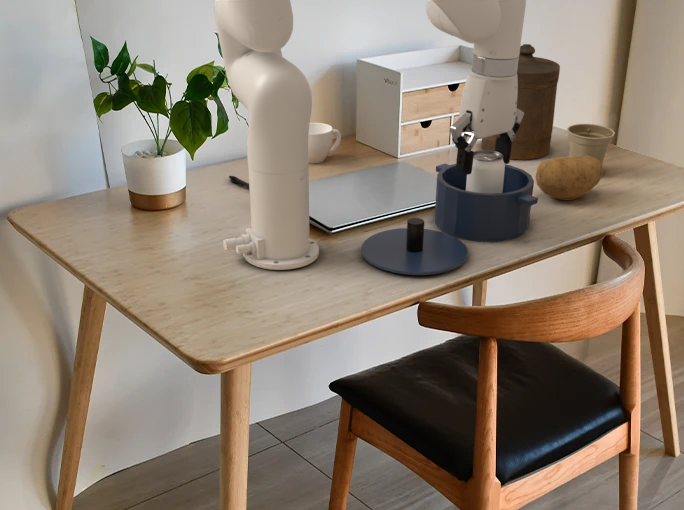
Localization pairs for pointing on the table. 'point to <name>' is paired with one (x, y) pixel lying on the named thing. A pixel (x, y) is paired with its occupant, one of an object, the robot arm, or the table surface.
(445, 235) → the lid
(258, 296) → the table surface
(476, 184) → the can
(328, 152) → the cup
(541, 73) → the wooden container
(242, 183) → the pen
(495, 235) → the pot
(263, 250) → the robot arm
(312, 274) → the table surface
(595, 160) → the potato
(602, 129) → the flower pot
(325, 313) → the table surface
